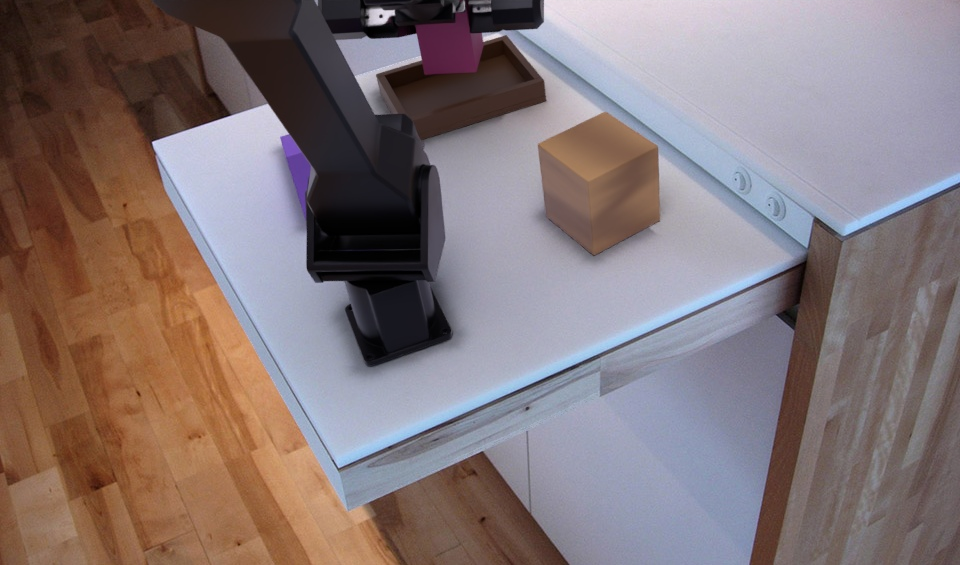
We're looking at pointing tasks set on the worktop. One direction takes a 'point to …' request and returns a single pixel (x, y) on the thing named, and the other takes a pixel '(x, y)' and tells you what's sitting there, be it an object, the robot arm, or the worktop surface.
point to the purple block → (297, 168)
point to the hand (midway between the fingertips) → (452, 24)
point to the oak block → (600, 182)
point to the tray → (463, 90)
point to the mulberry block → (450, 46)
